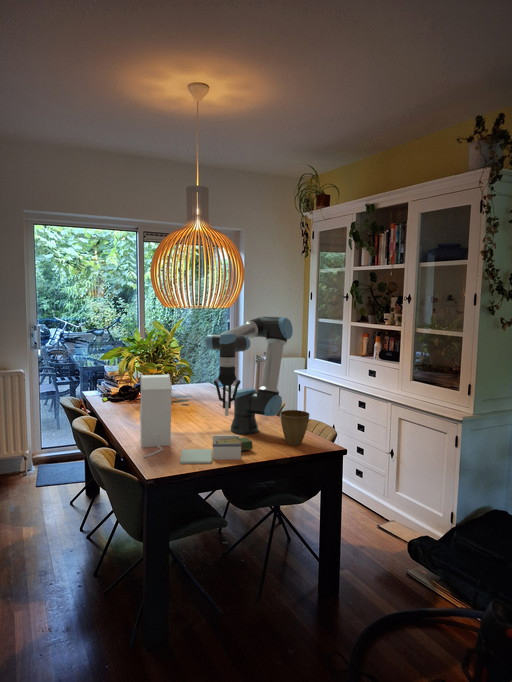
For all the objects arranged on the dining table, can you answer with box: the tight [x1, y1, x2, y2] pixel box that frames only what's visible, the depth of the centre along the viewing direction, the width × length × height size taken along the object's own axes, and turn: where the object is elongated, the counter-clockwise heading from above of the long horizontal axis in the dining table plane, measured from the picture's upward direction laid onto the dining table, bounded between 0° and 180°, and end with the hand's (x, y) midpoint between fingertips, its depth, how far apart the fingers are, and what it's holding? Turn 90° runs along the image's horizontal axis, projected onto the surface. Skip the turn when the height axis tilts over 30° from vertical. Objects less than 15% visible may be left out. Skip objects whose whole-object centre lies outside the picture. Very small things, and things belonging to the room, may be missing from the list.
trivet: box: [179, 448, 213, 465], centre depth 231 cm, size 18×14×1 cm
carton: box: [216, 437, 254, 452], centre depth 241 cm, size 8×16×4 cm, turn 117°
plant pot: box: [279, 409, 310, 447], centre depth 254 cm, size 15×15×16 cm
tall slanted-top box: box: [139, 373, 172, 458], centre depth 244 cm, size 14×35×35 cm, turn 16°
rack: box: [212, 434, 242, 461], centre depth 238 cm, size 19×13×7 cm
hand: (226, 415), depth 236 cm, fingers closed
